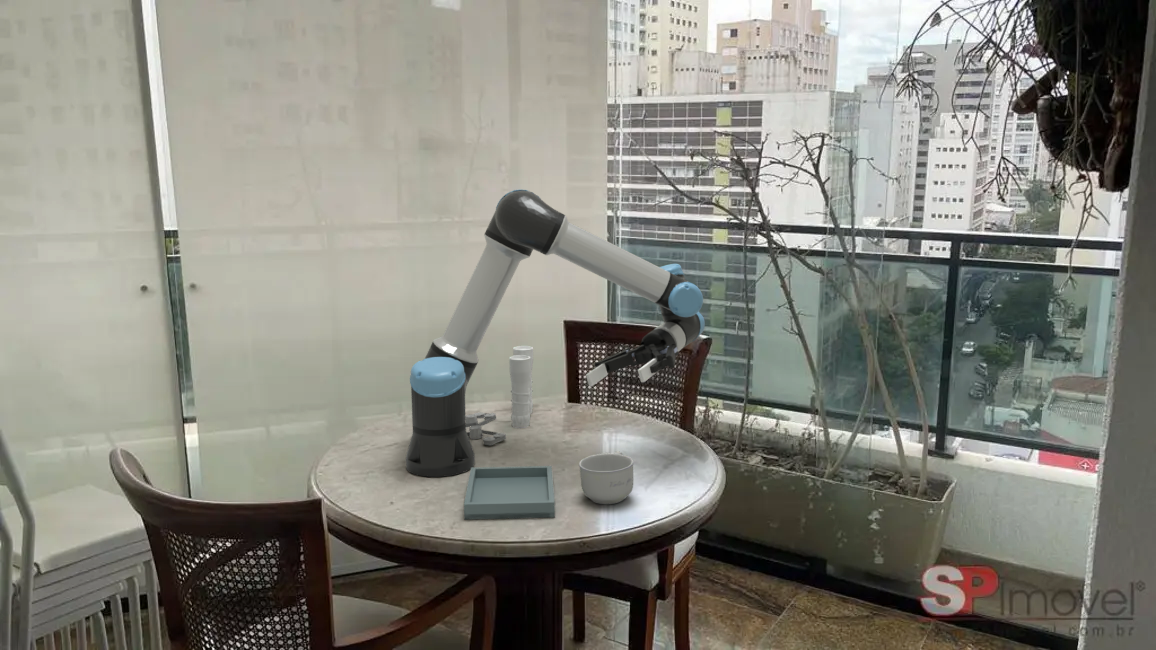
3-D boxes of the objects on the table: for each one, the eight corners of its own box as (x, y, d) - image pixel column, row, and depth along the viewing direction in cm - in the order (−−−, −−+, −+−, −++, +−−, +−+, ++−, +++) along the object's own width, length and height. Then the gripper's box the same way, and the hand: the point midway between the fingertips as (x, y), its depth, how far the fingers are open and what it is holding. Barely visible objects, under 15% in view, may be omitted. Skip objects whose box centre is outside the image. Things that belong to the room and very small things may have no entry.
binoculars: (530, 428, 213) (529, 359, 210) (509, 428, 213) (508, 359, 210) (534, 409, 230) (533, 345, 227) (514, 409, 230) (513, 345, 227)
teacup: (616, 513, 160) (616, 473, 159) (568, 502, 166) (568, 463, 164) (649, 490, 172) (650, 453, 170) (604, 480, 177) (604, 444, 176)
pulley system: (445, 454, 197) (508, 446, 200) (443, 435, 196) (506, 427, 199) (438, 425, 223) (494, 418, 226) (437, 407, 222) (493, 401, 225)
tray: (464, 519, 157) (463, 504, 157) (471, 481, 177) (471, 467, 176) (554, 517, 158) (554, 502, 158) (551, 479, 178) (551, 465, 177)
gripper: (714, 353, 185) (669, 391, 169) (623, 362, 201) (573, 397, 184) (705, 322, 184) (659, 356, 168) (614, 333, 199) (563, 366, 183)
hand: (614, 378), depth 176 cm, fingers open, 13 cm apart
